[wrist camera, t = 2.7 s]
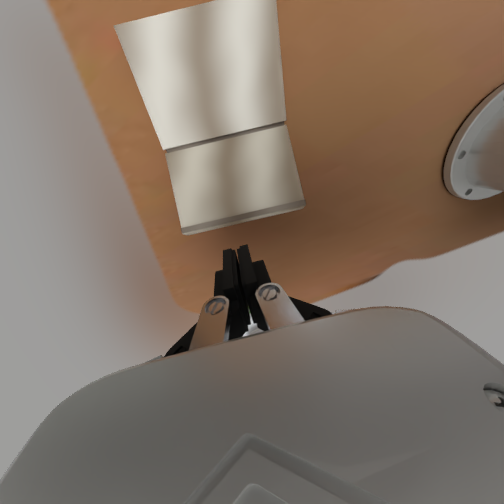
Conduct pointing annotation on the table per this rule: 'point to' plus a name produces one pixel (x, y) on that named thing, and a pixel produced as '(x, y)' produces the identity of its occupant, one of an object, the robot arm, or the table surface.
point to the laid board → (208, 70)
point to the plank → (235, 180)
